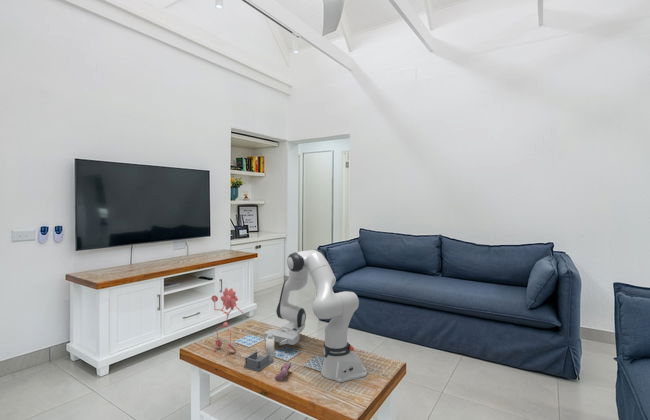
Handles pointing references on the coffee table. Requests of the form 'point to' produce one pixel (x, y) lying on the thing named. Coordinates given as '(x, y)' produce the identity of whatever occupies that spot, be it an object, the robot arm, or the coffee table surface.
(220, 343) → the pink flower
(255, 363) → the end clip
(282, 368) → the pink irregular piece
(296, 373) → the coffee table surface
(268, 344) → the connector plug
